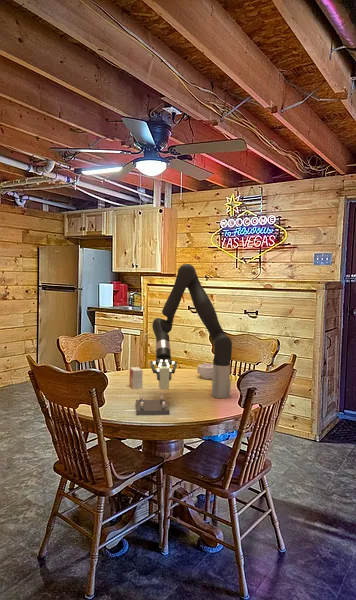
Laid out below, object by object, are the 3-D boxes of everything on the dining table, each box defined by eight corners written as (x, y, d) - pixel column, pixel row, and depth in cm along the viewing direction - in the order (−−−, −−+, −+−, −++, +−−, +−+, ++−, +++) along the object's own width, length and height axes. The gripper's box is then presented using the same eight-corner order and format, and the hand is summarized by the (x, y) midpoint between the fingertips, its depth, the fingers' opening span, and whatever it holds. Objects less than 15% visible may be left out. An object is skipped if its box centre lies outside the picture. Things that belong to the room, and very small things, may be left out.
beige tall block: (167, 386, 207) (168, 366, 207) (168, 388, 202) (169, 368, 202) (158, 386, 207) (159, 366, 206) (159, 388, 202) (160, 368, 201)
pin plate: (166, 403, 209) (166, 393, 208) (169, 414, 192) (169, 404, 192) (135, 403, 207) (136, 393, 207) (136, 415, 190) (136, 404, 190)
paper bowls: (209, 373, 277) (210, 362, 277) (226, 378, 266) (226, 366, 265) (192, 376, 268) (192, 364, 267) (208, 381, 256) (208, 368, 256)
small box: (129, 385, 242) (129, 367, 241) (138, 384, 244) (138, 366, 243) (132, 389, 234) (133, 370, 234) (142, 388, 236) (142, 369, 236)
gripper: (149, 346, 211) (149, 375, 199) (177, 346, 212) (179, 376, 201) (148, 354, 216) (149, 384, 205) (176, 355, 218) (178, 384, 207)
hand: (164, 379), depth 203 cm, fingers closed on beige tall block, 4 cm apart
